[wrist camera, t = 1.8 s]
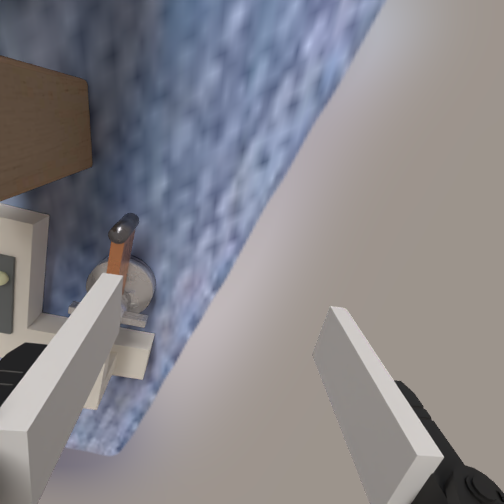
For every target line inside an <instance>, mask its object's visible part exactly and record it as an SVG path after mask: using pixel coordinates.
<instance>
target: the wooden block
mask: <svg viewBox="0 0 504 504" xmlns="http://www.w3.org/2000/svg"><path fill="white" fill-rule="evenodd" d="M90 167H92V148H91V132H90V116H89V101H88V85H87V82H86V81H85V80H84V79H81V78H78V77H74V76H71V75H67V74H64V73H60V72H57V71H53V70H50V69H46V68H43V67H39V66H36V65H32V64H29V63H25V62H22V61H18V60H15V59H11V58H8V57H4V56H1V55H0V201H3V200H5V199H8V198H11V197H13V196H16V195H19V194H21V193H24V192H27V191H29V190H32V189H35V188H37V187H40V186H43V185H45V184H48V183H50V182H53V181H56V180H58V179H61V178H64V177H66V176H69V175H72V174H74V173H77V172H80V171H82V170H85V169H88V168H90Z"/></svg>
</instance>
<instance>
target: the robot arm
mask: <svg viewBox="0 0 504 504" xmlns="http://www.w3.org/2000/svg"><path fill="white" fill-rule="evenodd" d="M122 287H123V276H121V275H115V274H108V273H102V275H101V276H100V277H99V279H98V280H97V281H96V282H95V284H94V285H93V286H92V288H91V289H90V290H89V292H88V293H87V294H86V296H85V297H84V298H83V299H82V301H81V302H80V303H79V305H78V306H77V307H76V309H75V310H74V311H73V313H72V314H71V315H70V317H69V318H68V319H67V320H66V322H65V323H64V324H63V326H62V327H61V328H60V330H59V331H58V332H57V334H56V335H55V336H54V337H53V339H52V340H51V341H50V343H49V344H48V345H47V344H37V343H28V342H25V343H23V344H22V345H20V346H18V347H17V348H15V349H13V350H12V351H10V352H8V353H7V354H6V355H5V356H4V357H3V358H2V359H1V360H0V504H38V502H39V500H40V498H41V496H42V493H43V491H44V489H45V487H46V485H47V483H48V481H49V479H50V477H51V475H52V472H53V470H54V468H55V466H56V464H57V462H58V460H59V458H60V456H61V453H62V451H63V449H64V447H65V445H66V443H67V441H68V439H69V437H70V435H71V432H72V430H73V428H74V426H75V424H76V422H77V420H78V418H79V416H80V413H81V411H82V409H83V407H84V405H85V403H86V401H87V399H88V397H89V395H90V392H91V390H92V388H93V386H94V384H95V382H96V380H97V378H98V376H99V373H100V371H101V369H102V367H103V365H104V363H105V361H106V359H107V357H108V355H109V352H110V350H111V348H112V346H113V344H114V342H115V340H116V338H117V336H118V333H119V327H120V314H121V300H122ZM312 356H313V358H314V361H315V363H316V366H317V369H318V371H319V374H320V376H321V379H322V381H323V384H324V386H325V389H326V392H327V394H328V397H329V399H330V402H331V404H332V407H333V410H334V412H335V415H336V418H337V420H338V423H339V425H340V428H341V430H342V433H343V435H344V438H345V441H346V443H347V446H348V449H349V451H350V454H351V456H352V459H353V461H354V464H355V466H356V469H357V472H358V474H359V477H360V479H361V482H362V485H363V487H364V490H365V493H366V495H367V498H368V500H369V503H370V504H504V493H503V492H502V491H501V490H500V488H499V487H498V486H497V485H496V484H495V483H494V482H493V481H492V480H490V479H489V478H488V477H487V476H486V475H485V474H483V473H481V472H480V471H478V470H476V469H474V468H472V467H468V466H465V465H464V464H463V462H462V461H461V459H460V458H459V456H458V455H457V454H456V452H455V451H454V449H453V448H452V446H451V445H450V444H449V442H448V441H447V439H446V438H445V436H444V435H443V434H442V432H441V431H440V429H439V428H438V427H437V425H436V424H435V422H434V421H432V420H431V417H430V415H429V414H428V412H427V411H426V410H425V409H424V408H423V405H422V404H421V402H420V401H419V399H418V398H417V397H416V395H415V394H414V393H413V392H412V391H411V390H410V389H409V388H408V387H407V386H406V385H404V384H403V383H402V382H401V381H395V380H393V379H392V377H391V376H390V374H389V373H388V371H387V370H386V368H385V367H384V365H383V364H382V362H381V361H380V359H379V357H378V356H377V354H376V353H375V351H374V350H373V348H372V347H371V346H370V344H369V342H368V341H367V339H366V338H365V336H364V335H363V333H362V332H361V330H360V329H359V327H358V326H357V324H356V323H355V321H354V320H353V318H352V317H351V315H350V314H349V312H348V311H347V309H346V308H340V307H332V306H330V308H329V311H328V313H327V316H326V319H325V322H324V324H323V327H322V330H321V332H320V335H319V338H318V340H317V343H316V346H315V349H314V351H313V354H312Z"/></svg>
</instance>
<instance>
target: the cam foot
mask: <svg viewBox="0 0 504 504" xmlns="http://www.w3.org/2000/svg"><path fill="white" fill-rule="evenodd" d="M138 224H139V218H138V216H137V215H135V214H133V213H127V214H125V215H124V216H123V217H122V218H121V219H120V220H119V221H118V222H117V223H116V224H115V225H114V226H113V227H112V228H111V229H110V231H109V233H108V236H109V239H110V240H111V247H110V253H109V257H107V258H105V259H103V260H102V261H101V262H99V264H98V265H97V266H96V267H95V268H94V270H93V271H92V272H91V273H90V275H89V276H88V279H87V283H86V290H87V293H88V292H89V290H90V289H91V288H92V286H93V285H94V284H95V282H96V281H97V280H98V279H99V277H100V276H101V275H102V273H108V274H115V275H121V276H123V287H122V300H121V314H120V324H121V323H122V324H127V325H132V326H138V327H143V328H145V325H146V323H147V319H148V316H147V315H142V314H138V313H140V312H142V311H143V310H144V309H145V308H146V307H147V306H148V305H149V303H150V301H151V299H152V296H153V294H154V291H155V287H156V280H155V276H154V274H153V272H152V270H151V269H150V267H149V266H148V265H147V264H146V263H145V262H143V261H142V260H140V259H138V258H136V257H134V256H130V255H131V250H132V244H133V239H134V234H135V228H136V227H137V226H138ZM79 303H80V302H77V301H73V302H72V304H71V305H70V306H69V310H68V313H69V314H72V313H73V311H74V310H75V309H76V307H77V306H78V305H79Z"/></svg>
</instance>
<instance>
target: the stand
mask: <svg viewBox="0 0 504 504" xmlns="http://www.w3.org/2000/svg"><path fill="white" fill-rule="evenodd" d="M48 228H49V215H46V214H42V213H38V212H34V211H30V210H26V209H22V208H18V207H14V206H10V205H6V204H2V203H0V357H1V358H3V357H4V356H5V355H6V354H7V353H8V352H10V351H12V350H13V349H15V348H17V347H18V346H20V345H22V344H23V343H25V342H28V343H37V344H47V345H48V344H49V343H50V341H51V340H52V339H53V337H54V336H55V335H56V334H57V332H58V331H59V330H60V328H61V327H62V326H63V324H64V323H65V322H66V320H67V319H68V317H63V316H58V315H52V314H47V313H42V307H43V293H44V280H45V267H46V254H47V241H48ZM154 335H155V334H154V333H148V332H143V331H138V330H132V329H127V328H122V327H119V333H118V336H117V338H116V340H115V342H114V344H113V346H112V348H111V350H110V352H109V355H108V357H107V359H106V361H105V363H104V365H103V367H102V369H101V371H100V373H99V376H98V378H97V380H96V382H95V384H94V386H93V388H92V390H91V392H90V395H89V397H88V399H87V401H86V403H85V405H84V407H83V408H86V409H94V410H97V408H98V406H99V404H100V401H101V399H102V396H103V394H104V392H105V389H106V387H107V385H108V382H109V380H110V378H111V375H115V376H122V377H128V378H135V379H141V380H143V377H144V374H145V370H146V367H147V364H148V360H149V356H150V352H151V348H152V343H153V339H154Z"/></svg>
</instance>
